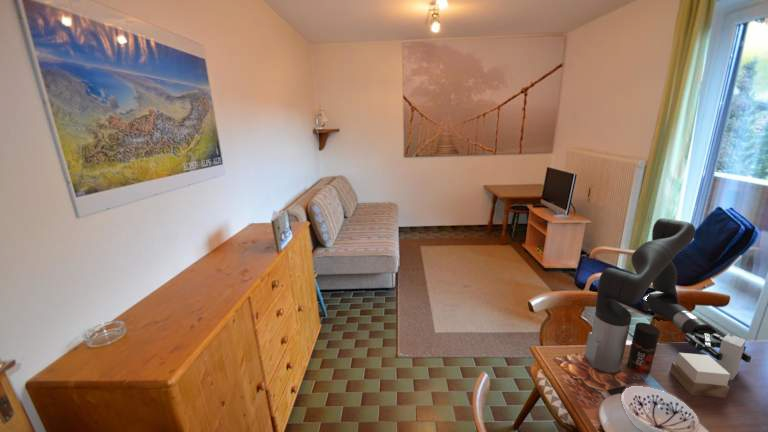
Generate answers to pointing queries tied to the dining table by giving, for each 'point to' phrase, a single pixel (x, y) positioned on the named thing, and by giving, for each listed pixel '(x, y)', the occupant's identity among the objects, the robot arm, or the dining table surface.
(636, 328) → the deodorant
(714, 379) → the offwhite block
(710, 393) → the walnut block
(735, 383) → the dining table surface
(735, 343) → the skincare box
